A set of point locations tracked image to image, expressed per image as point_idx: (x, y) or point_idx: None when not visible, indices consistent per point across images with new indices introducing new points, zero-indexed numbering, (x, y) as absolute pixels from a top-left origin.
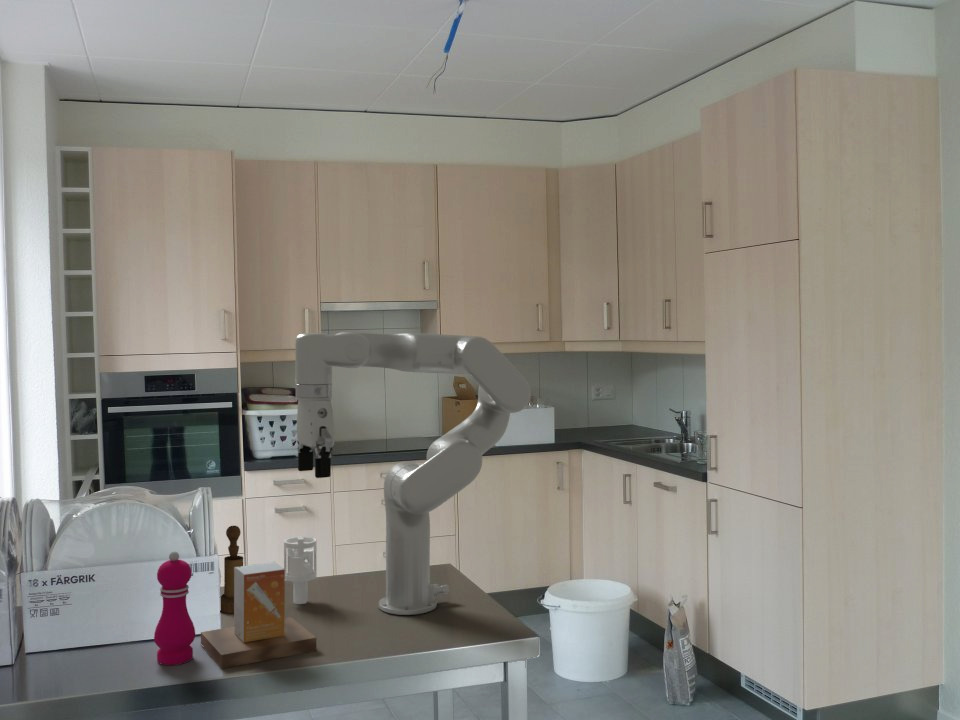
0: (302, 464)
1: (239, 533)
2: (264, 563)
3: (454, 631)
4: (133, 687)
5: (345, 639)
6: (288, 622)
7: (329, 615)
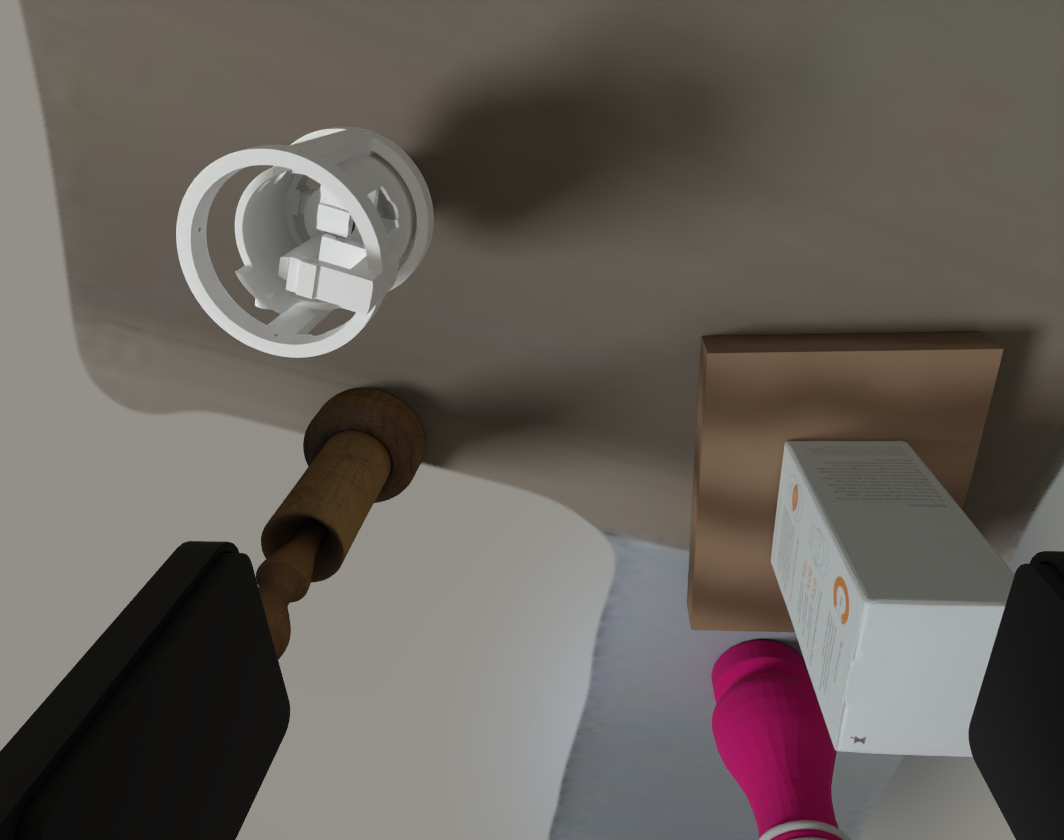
0: (238, 767)
1: (271, 612)
2: (865, 646)
3: None
4: (886, 773)
5: (948, 188)
6: (767, 381)
7: (622, 137)
